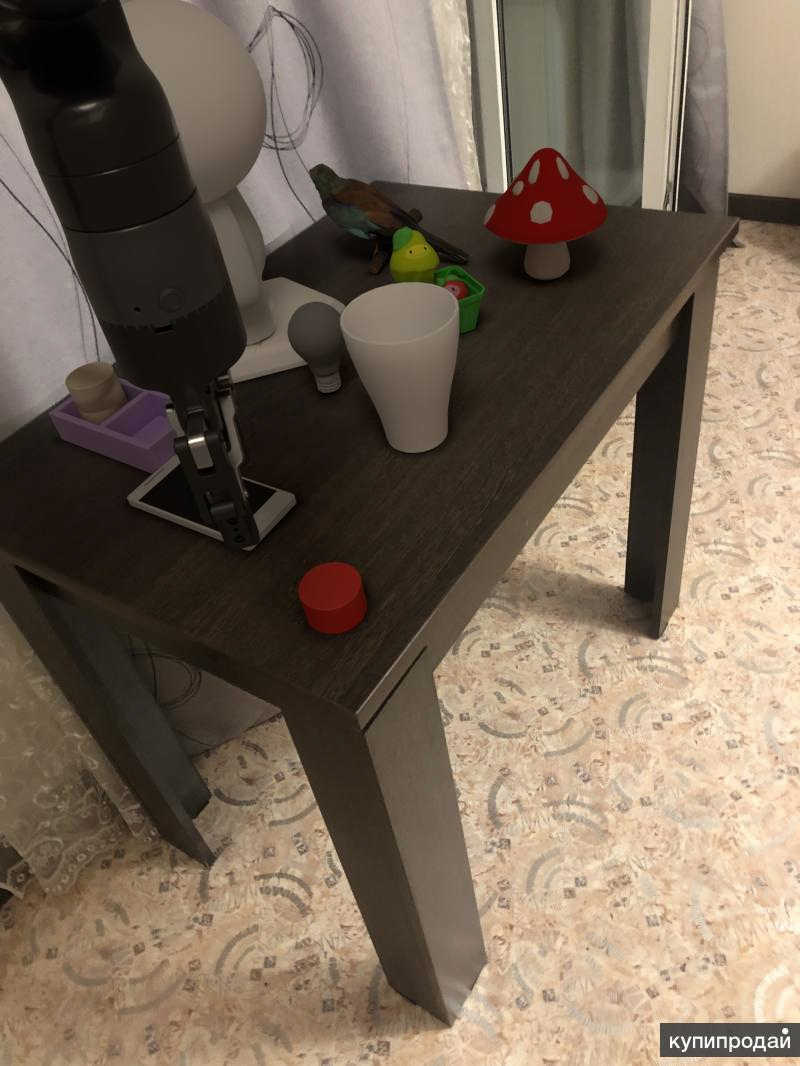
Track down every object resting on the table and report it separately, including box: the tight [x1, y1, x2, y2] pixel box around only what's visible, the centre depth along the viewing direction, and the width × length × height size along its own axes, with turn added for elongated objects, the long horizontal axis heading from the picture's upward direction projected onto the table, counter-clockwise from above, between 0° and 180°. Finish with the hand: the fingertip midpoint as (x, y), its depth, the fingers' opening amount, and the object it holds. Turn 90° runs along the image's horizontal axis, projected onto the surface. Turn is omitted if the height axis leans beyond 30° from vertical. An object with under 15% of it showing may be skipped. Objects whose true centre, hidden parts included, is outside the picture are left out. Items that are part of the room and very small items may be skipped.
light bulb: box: [287, 302, 346, 394], centre depth 84 cm, size 6×6×10 cm
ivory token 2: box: [79, 393, 129, 425], centre depth 87 cm, size 5×5×3 cm
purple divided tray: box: [48, 376, 177, 475], centre depth 85 cm, size 8×15×4 cm, turn 57°
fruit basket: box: [389, 227, 486, 335], centre depth 90 cm, size 11×9×11 cm
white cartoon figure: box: [121, 0, 346, 384], centre depth 86 cm, size 20×23×35 cm
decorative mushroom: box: [483, 147, 609, 281], centre depth 94 cm, size 14×14×15 cm
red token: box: [297, 561, 368, 635], centre depth 64 cm, size 5×5×3 cm
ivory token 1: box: [64, 361, 124, 413], centre depth 85 cm, size 5×5×3 cm
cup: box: [340, 282, 460, 454], centre depth 76 cm, size 10×10×14 cm
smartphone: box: [126, 455, 297, 551], centre depth 76 cm, size 7×15×1 cm, turn 59°
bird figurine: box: [308, 163, 470, 275], centre depth 104 cm, size 13×10×20 cm
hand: (240, 502), depth 56 cm, fingers open, 8 cm apart
